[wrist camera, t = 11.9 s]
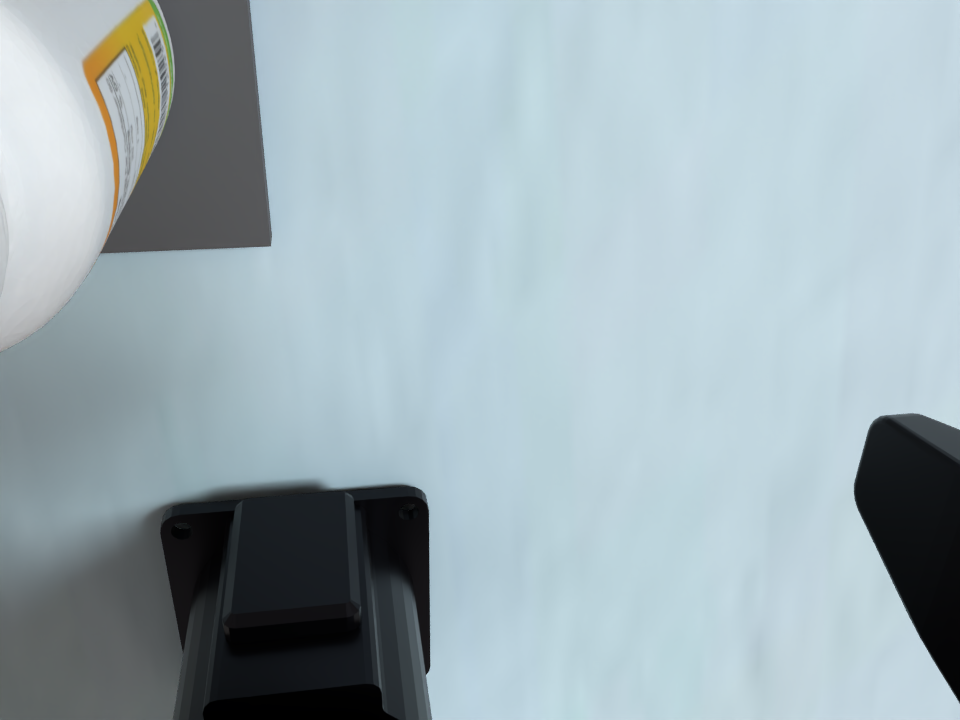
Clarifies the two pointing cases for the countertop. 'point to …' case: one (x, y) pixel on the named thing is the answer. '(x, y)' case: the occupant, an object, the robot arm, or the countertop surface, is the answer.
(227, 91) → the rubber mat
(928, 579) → the robot arm
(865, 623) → the countertop surface
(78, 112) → the supplement bottle
